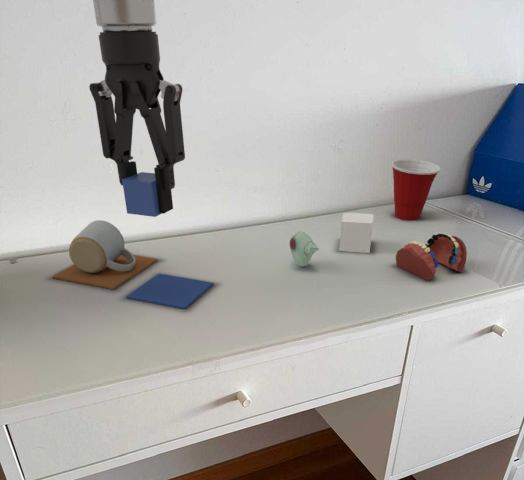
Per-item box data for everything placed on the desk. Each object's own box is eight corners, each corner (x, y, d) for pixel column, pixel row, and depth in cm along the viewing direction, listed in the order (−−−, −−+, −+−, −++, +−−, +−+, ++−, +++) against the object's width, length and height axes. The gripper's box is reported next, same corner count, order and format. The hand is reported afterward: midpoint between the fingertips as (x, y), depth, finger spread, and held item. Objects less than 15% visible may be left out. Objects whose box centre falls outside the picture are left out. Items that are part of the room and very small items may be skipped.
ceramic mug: (69, 274, 92) (61, 233, 88) (89, 257, 99) (83, 218, 95) (126, 279, 91) (120, 237, 87) (142, 261, 98) (138, 221, 94)
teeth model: (393, 234, 92) (442, 224, 97) (387, 267, 96) (435, 256, 100) (426, 251, 86) (477, 239, 91) (419, 285, 89) (468, 272, 94)
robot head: (321, 272, 94) (323, 236, 90) (301, 276, 92) (302, 240, 89) (299, 257, 100) (300, 223, 96) (280, 261, 98) (281, 226, 95)
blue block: (126, 213, 78) (121, 179, 75) (145, 204, 82) (141, 171, 79) (155, 217, 76) (151, 182, 73) (172, 207, 80) (169, 174, 77)
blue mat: (126, 298, 85) (126, 296, 85) (158, 275, 93) (158, 273, 93) (185, 309, 82) (185, 307, 81) (213, 284, 89) (213, 282, 89)
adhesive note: (341, 240, 108) (343, 212, 105) (370, 242, 107) (373, 214, 104) (339, 251, 103) (341, 221, 100) (369, 253, 102) (372, 223, 99)
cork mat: (53, 278, 92) (52, 276, 92) (101, 251, 103) (101, 249, 103) (113, 289, 88) (113, 287, 88) (157, 260, 99) (157, 258, 99)
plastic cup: (414, 227, 115) (423, 171, 109) (375, 216, 122) (381, 163, 115) (441, 217, 121) (450, 163, 115) (402, 207, 128) (409, 156, 122)
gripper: (203, 28, 66) (214, 208, 79) (89, 30, 72) (115, 197, 85) (173, 28, 61) (190, 222, 73) (51, 30, 66) (86, 209, 79)
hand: (150, 208), depth 79 cm, fingers closed on blue block, 5 cm apart
